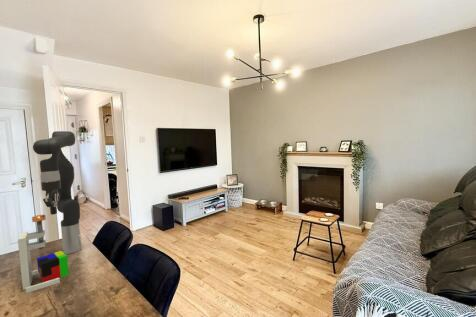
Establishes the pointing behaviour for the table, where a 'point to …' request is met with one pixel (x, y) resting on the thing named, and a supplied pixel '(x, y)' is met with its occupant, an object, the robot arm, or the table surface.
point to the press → (26, 261)
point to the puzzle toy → (52, 266)
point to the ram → (39, 226)
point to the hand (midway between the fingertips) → (53, 214)
